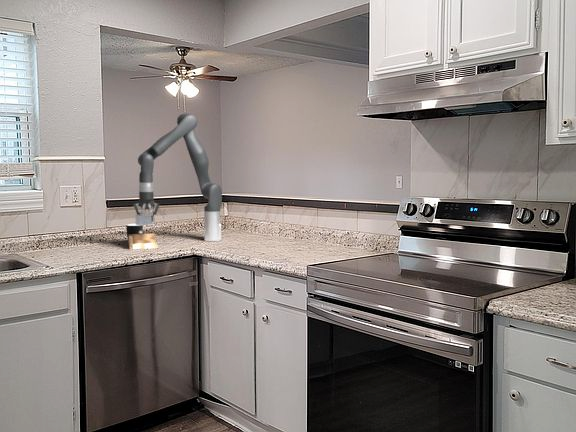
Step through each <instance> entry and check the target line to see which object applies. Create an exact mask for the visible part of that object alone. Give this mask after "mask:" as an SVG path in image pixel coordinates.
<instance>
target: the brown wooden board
mask: <svg viewBox="0 0 576 432" xmlns="http://www.w3.org/2000/svg"><path fill="white" fill-rule="evenodd" d="M156 236H157V235H156V233H142V234H129V235H128V238H127V243H128V248H129V250H132V249H131V247H133V244H138V243H156V244H157V241H156V240H157V239H156V238H157V237H156Z"/></svg>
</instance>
